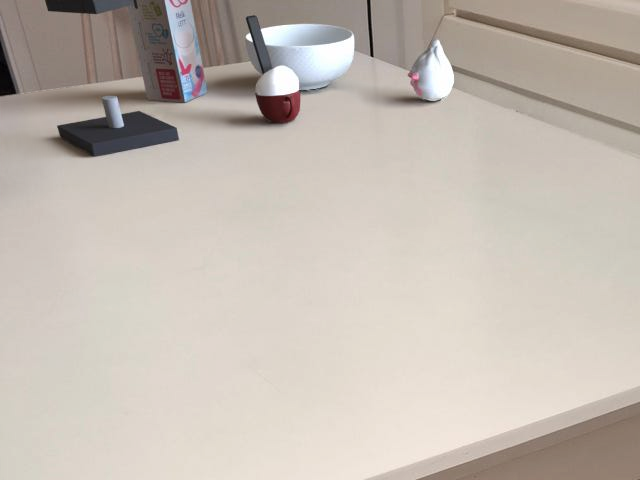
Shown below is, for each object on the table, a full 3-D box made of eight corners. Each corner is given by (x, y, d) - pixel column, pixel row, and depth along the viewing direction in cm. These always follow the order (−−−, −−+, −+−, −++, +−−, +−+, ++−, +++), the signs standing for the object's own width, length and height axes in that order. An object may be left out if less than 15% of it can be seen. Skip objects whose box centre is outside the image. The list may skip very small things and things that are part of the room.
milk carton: (207, 92, 143) (174, -85, 128) (185, 102, 139) (148, -80, 124) (171, 90, 145) (134, -86, 130) (147, 99, 140) (106, -81, 125)
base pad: (94, 156, 118) (83, 113, 115) (60, 137, 125) (48, 96, 121) (179, 139, 124) (170, 98, 120) (142, 122, 130) (132, 82, 127)
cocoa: (305, 126, 128) (292, 25, 120) (260, 129, 127) (244, 27, 119) (300, 110, 135) (288, 13, 127) (258, 112, 134) (243, 15, 126)
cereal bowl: (235, 95, 142) (226, 41, 137) (276, 71, 154) (269, 22, 149) (337, 100, 139) (332, 46, 134) (371, 76, 151) (367, 25, 146)
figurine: (402, 99, 139) (398, 37, 134) (443, 94, 142) (441, 33, 136) (419, 108, 135) (416, 45, 130) (461, 103, 137) (460, 41, 132)
